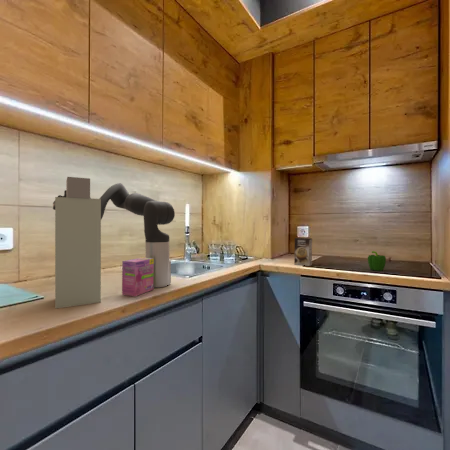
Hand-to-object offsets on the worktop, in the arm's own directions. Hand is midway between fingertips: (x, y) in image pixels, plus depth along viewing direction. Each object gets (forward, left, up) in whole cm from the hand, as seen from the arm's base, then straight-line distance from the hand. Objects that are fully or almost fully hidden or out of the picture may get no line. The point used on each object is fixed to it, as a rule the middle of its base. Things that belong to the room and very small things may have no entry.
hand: (75, 191), depth 95 cm
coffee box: (-109, +53, -36) cm, 127 cm away
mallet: (+2, +4, -3) cm, 6 cm away
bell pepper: (-108, +92, -36) cm, 147 cm away
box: (-12, +17, -36) cm, 41 cm away
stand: (+5, +8, -35) cm, 37 cm away
